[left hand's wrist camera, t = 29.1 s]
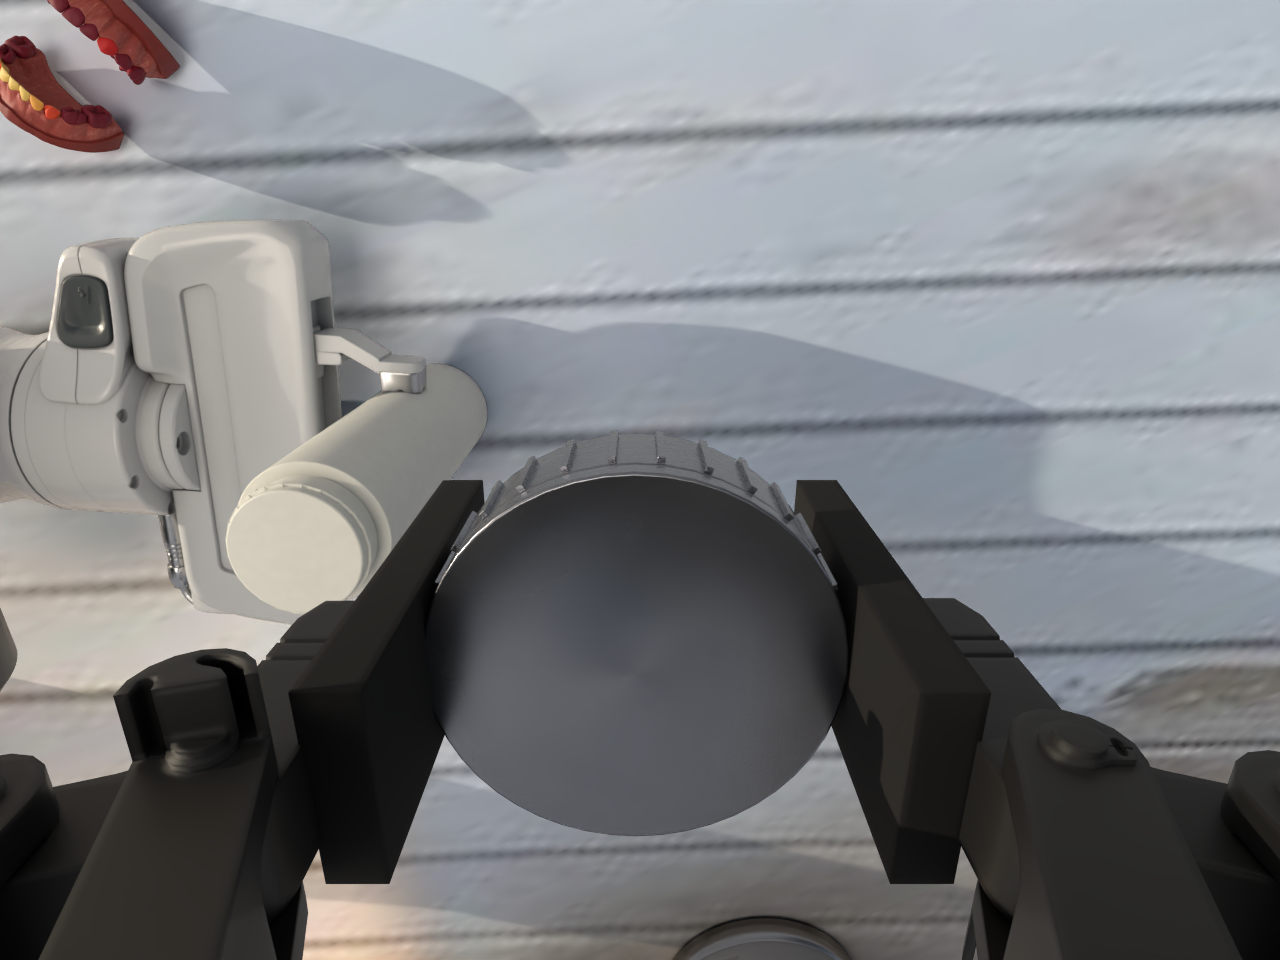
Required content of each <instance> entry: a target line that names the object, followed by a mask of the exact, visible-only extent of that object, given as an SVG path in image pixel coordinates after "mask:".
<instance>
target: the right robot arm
mask: <svg viewBox="0 0 1280 960" xmlns="http://www.w3.org/2000/svg"><path fill="white" fill-rule="evenodd" d="M351 359H353V360H355V361H356V362H358V363H360V364H362V365H363V366H365V367H367V368H369V369H370V370H372V371H374V372H376V373H377V374H379V375H380V376H381V389H382V391H383V392H397V391H398V390H402V391H403V392H405V393H419V392H422V391H423V389H425V388H427V382H426V368H427V366H426V358H425V357H421V356H407V355H392V354H391V351H389V350H387V349H386V348H384V347H383V346H381V345H380V344H378V343H377V342H375V341H374V340H372V339H370V338H369V337H367V336H366V335H364V334H363V333H361V332H360V331H358V330H357V329H343V328H335V317H334V304H333V291H332V277H331V264H330V250H329V243H328V240H327V238H326V237H325V236H324V235H323V234H322V233H321V232H320V231H319V230H317V229H316V228H315V227H314V226H312V225H311V224H310V223H309V222H307V221H304V220H273V219H260V220H231V221H215V222H201V223H191V224H182V225H176V226H169V227H164V228H160V229H156V230H154V231H151V232H149V233H147V234H145V235H143V236H142V237H140V238H115V239H105V240H98V241H93V242H88V243H83V244H80V245H76V246H72V247H69V248H67V249H66V250H64V252H63V253H62V255H61V257H60V260H59V264H58V270H57V279H56V288H55V296H54V304H53V310H52V317H51V323H50V328H49V332H47V333H43V334H39V335H28V334H24V333H21V332H19V331H16V330H13V329H10V328H6V327H2V326H0V503H3V502H8V501H13V500H17V499H31V500H34V501H37V502H39V503H42V504H45V505H48V506H52V507H56V508H61V509H71V510H87V511H102V512H119V513H138V514H154V515H158V517H159V523H160V528H161V534H162V538H163V542H164V545H165V548H166V552H167V556H168V562H169V563H168V575H169V578H170V581H171V584H172V585H173V587H174V588H178V589H180V590H181V592H182V594H183V595H184V596H185V598H186V599H187V600H188V601H189V602H190V603H192V604H193V606H194V607H195V608H196V609H197V610H200V611H203V612H207V613H221V614H236V615H240V616H245V617H249V618H255V619H260V620H266V621H272V622H278V623H285V624H293V623H294V622H295V621H296V620H297V619H298V618H299V617H301V616H302V615H304V614H293V613H292V612H288V611H284V610H280V609H276V607H274V606H272V605H270V604H268V603H266V602H264V601H262V600H260V599H259V598H258V597H257V596H256V595H254V594H253V593H252V592H251V591H249V590H248V589H247V588H246V587H245V585H244V584H243V583H242V582H241V581H240V579H239V578H238V576H237V575H236V574H235V573H234V570H233V568H232V566H231V563H230V560H229V558H228V556H227V555H228V553H227V546H226V540H225V538H226V534H227V526H228V522H229V520H230V518H231V516H232V514H233V512H234V510H235V508H236V507H237V506H238V503H239V500H240V498H241V495H242V493H243V492H244V490H245V489H246V487H247V486H248V485H249V483H250V482H251V481H252V480H253V479H254V478H255V477H257V476H258V475H259V474H260V473H262V472H263V471H265V470H266V469H267V468H269V467H270V466H272V465H273V464H275V463H276V462H278V461H279V460H281V459H282V458H284V457H285V456H286V455H288V454H289V453H291V452H292V451H294V450H295V449H297V448H298V447H300V446H301V445H303V444H304V443H306V442H307V441H308V440H310V439H311V438H313V437H314V436H316V435H317V434H319V433H320V432H322V431H323V430H325V429H326V428H327V427H329V426H330V425H332V424H333V423H335V422H336V421H338V420H339V419H341V418H342V409H341V396H340V383H339V370H338V365H341V364H343V363H345V362H347V361H349V360H351ZM189 586H190V588H191V590H190V588H189ZM344 601H346V600H344ZM16 662H17V649H16V646H15V643H14V641H13V638H12V636H11V633H10V631H9V628H8V626H7V623H6V621H5V618H4V616H3V614H2V611H1V609H0V691H1V690H2V688H3V687H4V685H5V684H6V682H7V681H8V679H9V678H10V676H11V674H12V672H13V670H14V668H15V665H16Z"/></svg>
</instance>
